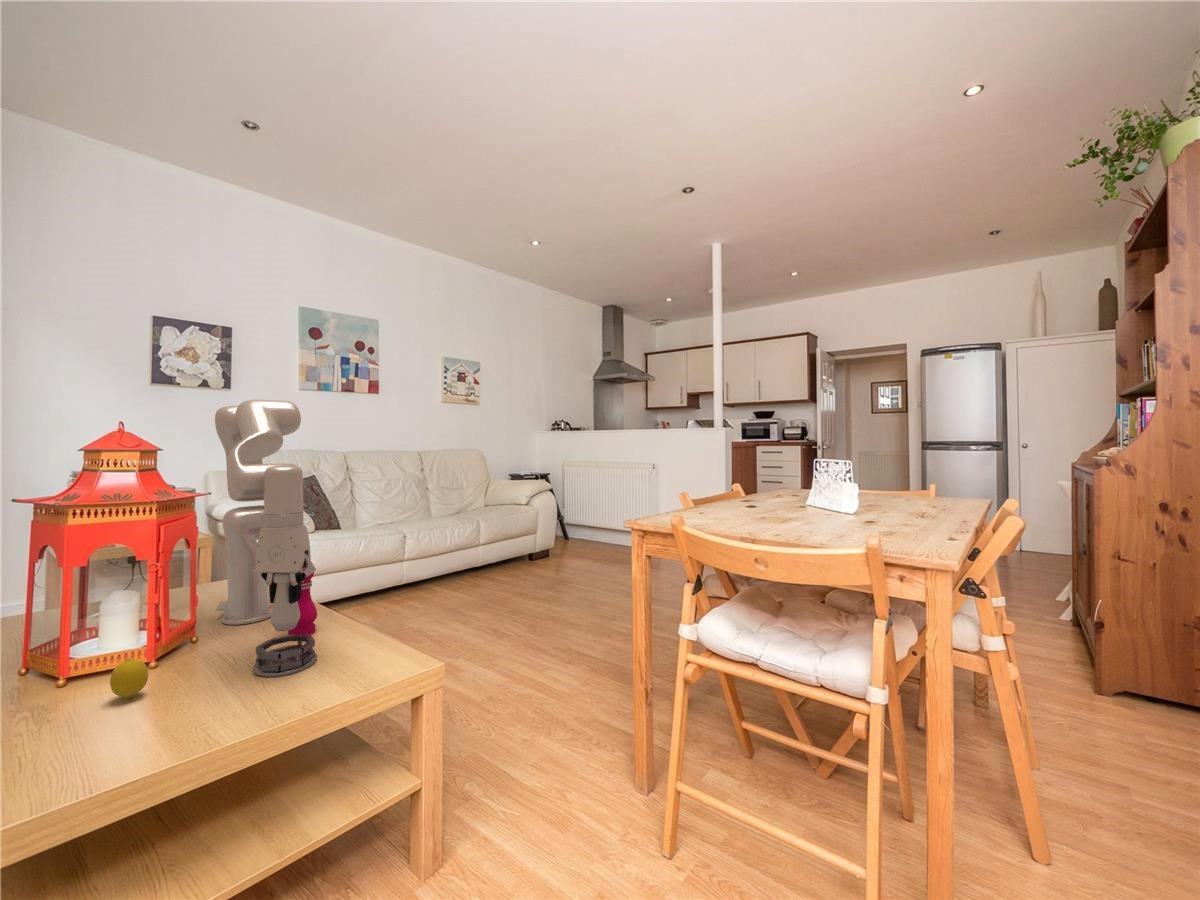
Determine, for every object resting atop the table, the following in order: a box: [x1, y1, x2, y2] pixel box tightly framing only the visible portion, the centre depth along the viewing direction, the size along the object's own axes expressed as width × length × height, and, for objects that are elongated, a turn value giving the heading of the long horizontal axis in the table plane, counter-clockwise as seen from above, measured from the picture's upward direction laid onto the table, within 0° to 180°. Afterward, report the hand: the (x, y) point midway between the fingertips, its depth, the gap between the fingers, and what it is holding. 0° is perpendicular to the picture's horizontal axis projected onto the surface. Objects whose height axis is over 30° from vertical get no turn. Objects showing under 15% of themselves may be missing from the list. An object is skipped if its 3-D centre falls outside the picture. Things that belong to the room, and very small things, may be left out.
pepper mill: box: [287, 568, 318, 635], centre depth 134 cm, size 7×7×20 cm
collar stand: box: [252, 634, 318, 679], centre depth 116 cm, size 12×12×5 cm
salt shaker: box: [269, 573, 300, 632], centre depth 115 cm, size 6×6×13 cm
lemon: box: [109, 657, 149, 699], centre depth 101 cm, size 6×6×8 cm
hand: (285, 600), depth 116 cm, fingers closed on salt shaker, 3 cm apart
